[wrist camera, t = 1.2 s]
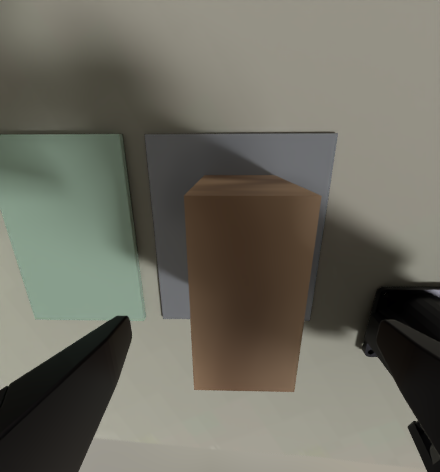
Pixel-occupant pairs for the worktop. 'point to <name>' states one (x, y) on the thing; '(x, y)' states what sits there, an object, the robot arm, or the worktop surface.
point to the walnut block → (248, 279)
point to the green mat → (72, 224)
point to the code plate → (225, 163)
